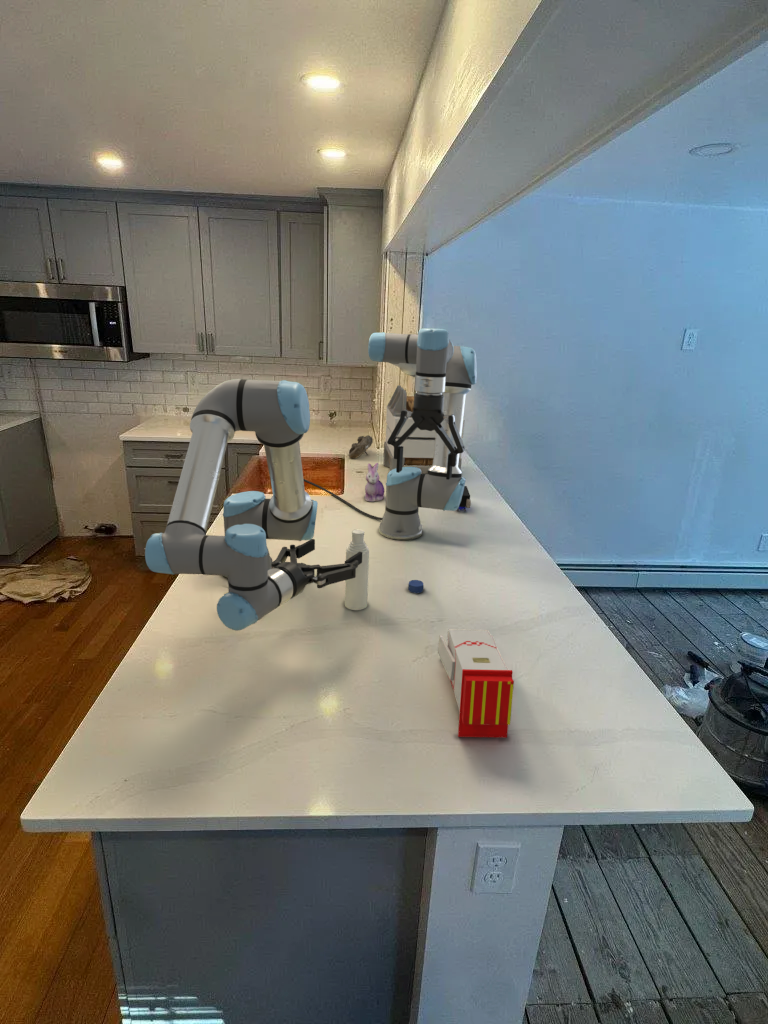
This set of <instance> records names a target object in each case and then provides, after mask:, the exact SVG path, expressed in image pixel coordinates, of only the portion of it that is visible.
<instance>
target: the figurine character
mask: <svg viewBox="0 0 768 1024" xmlns="http://www.w3.org/2000/svg"><path fill="white" fill-rule="evenodd" d="M471 501H472V500H471V494H470V491H469V488H468V486H467V485H465V487H464V491H463V495H462V499H461V502H460V505H459V507H458V509H457V510H456V511H457V512H460V510H463V511H464V513H466V512H467V509H470V508H471V505H472V504H471ZM466 508H467V509H466Z"/></svg>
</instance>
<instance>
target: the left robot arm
mask: <svg viewBox="0 0 768 1024" xmlns="http://www.w3.org/2000/svg"><path fill="white" fill-rule="evenodd" d="M310 412H311V411H310V402H309V397H308V393H307V391H306V389H305V386H304V385H303V384H301V383H300V382H298V381H288V380H286V379H282V380H267V379H243V378H233V379H228V380H225V381H223V382H221V383H219V384H217V385H215V386H214V387H213V388H211V389H210V390H209V391H208V392H207V393H206V394H205V395H204V396H203V397H202V398H201V400H200V401H199V402H198V404H197V405H196V406H195V408H194V410H193V412H192V415H191V419H190V422H189V430H190V432H191V437H190V440H189V444H188V447H187V451H186V455H185V457H184V461H183V466H182V468H181V472H180V477H179V479H178V483H177V487H176V490H175V494H174V497H173V502H172V505H171V509H170V512H169V515H168V519H167V523H166V527H165V530H164V532H158V533H153V534H151V535H150V537H149V538H148V539H147V541H146V544H145V549H144V558H145V563H146V567H148V569H149V570H150V571H151V572H154V573H157V574H158V573H160V574H167V575H202V576H203V575H204V576H206V575H207V576H223V577H224V578H226V579H227V589H228V592H226V593H224V594H223V595H222V596H221V597H220V598H219V599H218V601H217V604H216V612H217V613H216V614H217V616H218V618H219V621H220V622H221V623H222V624H223V625H224V626H225V627H226V628H227V629H230V630H232V631H237V632H238V631H242V630H245V629H246V628H248V627H250V626H251V625H254V624H256V623H257V622H258V621H260V620H261V619H263V618H265V616H267V615H269V613H272V612H273V611H275V610H276V609H278V608H279V607H280V606H282V605H284V604H285V603H287V602H288V601H289V600H291V599H293V598H295V597H297V596H298V595H299V594H301V593H302V592H303V591H304V589H305V588H306V587H307V585H310V584H313V583H314V584H316V587H317V589H322V588H324V587H327V586H329V585H333V584H337V583H340V582H345V580H348V579H352V578H355V577H356V568H357V567H358V565H359V564H361V563H362V552H358V553H357V554H355V555H354V556H352V557H350V558H349V559H347V560H346V559H345V560H344V563H336V564H327V565H320V564H306V563H305V562H298V560H299V559H301V558H303V557H304V556H306V555H308V554H310V553H311V552H313V551H315V550H316V539H314V536H315V530H316V529H315V528H316V521H317V513H318V505H319V504H318V501H317V500H314V499H312V498H311V496H310V494H309V493H308V492H307V490H305V489H306V488H305V482H304V480H303V479H304V472H303V471H304V470H303V463H302V462H303V461H302V454H301V453H302V452H301V444H300V441H301V440H302V439H303V437H304V434H306V433H308V432H309V429H310V425H311V413H310ZM239 431H242V432H254V433H255V434H254V435H255V437H256V439H257V441H258V442H259V443H260V444H261V445H262V446H263V447H264V453H265V458H266V464H267V471H268V474H269V475H268V476H269V480H270V481H269V482H270V486H271V491H272V496H271V497H270V498H266V494H265V493H264V492H262V491H259V490H250V491H242V492H237V493H235V494H232V495H230V496H228V497H227V498H226V499H225V500H224V502H223V512H222V517H223V531H224V535H211V534H210V535H209V534H207V531H208V527H209V523H210V518H211V516H212V515H211V514H212V510H213V506H214V503H215V502H214V501H215V497H216V494H217V493H216V492H217V488H218V486H219V485H218V484H219V480H220V476H221V472H222V467H223V465H224V460H225V455H226V451H227V446H228V443H229V442H231V441H233V440H234V438H235V433H236V432H239ZM267 540H279V541H280V540H281V541H296V542H297V541H298V542H301V541H306V542H304V543H302V544H299V545H297V546H296V544H290V545H289V548H288V547H287V546H282V547H281V549H280V551H279V553H278V555H277V556H276V558H275V560H273V557H271V555H270V554H271V553H270V551H269V548H268V545H267ZM288 557H289V561H287V559H288ZM315 570H316V575H315Z"/></svg>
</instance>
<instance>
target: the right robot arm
mask: <svg viewBox="0 0 768 1024" xmlns="http://www.w3.org/2000/svg"><path fill="white" fill-rule="evenodd" d="M367 345H368V347H367V351H368V353H367V354H368V358H369V359H370V360H371V361H372V362H378V363H387V364H391V365H394V366H395V367H398V368H399V370H400V371H401V372H402V373H404V374H405V375H407V376H410V377H412V378H415V379H414V391H415V393H414V394H413V396H414V407H413V412H411V411H408V410H407V409H405V410H403V411H401V415H400V420H399V421H398V423H397V425H396V427H395V429H394V430H393V432H392V434H391V436H390V438H389V439H388V441H387V443H388V444H391V445H392V446H394V459H397V468H396V469H393V470H391V471H390V470H389V472H388V473H387V475H386V482H385V504H384V505H385V507H384V508H385V509H384V513H383V515H382V517H380V516H376V515H372V514H370V513H368V512H365V511H363V510H361V509H359V508H358V507H356V506H355V505H353V504H352V503H350V502H349V501H347V500H345V499H343V498H342V497H341V496H339V495H337V494H335V493H334V492H332V491H330V490H328V489H327V488H325V487H323V486H321V485H319V484H316V483H314V482H313V481H310V480H307V479H305V478H303V480H304V483H307V484H309V485H311V486H313V487H316V488H318V489H320V490H322V491H324V492H325V493H327V494H329V495H331V496H332V497H334V498H336V499H337V500H339V501H341V502H342V503H344V504H345V505H347V506H348V507H350V508H352V509H353V510H355V511H356V512H358V513H359V514H362V515H364V516H365V517H368V518H370V519H373V520H377V521H381V522H379V525H378V533H379V534H380V535H381V536H382V537H385V538H387V539H389V540H395V541H410V540H415V539H418V538H420V537H421V536H422V535H423V524H421V518H420V515H419V508H422V509H430V510H431V509H432V510H440V511H441V510H442V511H443V512H445V511H447V512H455V511H457V509H458V507H459V505H460V502H461V499H462V495H463V491H464V487H465V486H466V478H465V477H463V476H462V475H463V472H462V469H461V470H460V469H459V468H458V463H459V453H461V454H463V453H464V451H466V447H465V444H464V441H463V438H461V434H462V425H463V419H464V414H465V406H466V397H467V394H468V393H469V392H470V391H471V390H472V385H473V386H474V385H476V384H477V381H478V380H477V378H478V377H477V375H478V374H477V373H478V369H477V368H478V367H477V366H478V365H477V354H476V351H475V349H474V348H473V347H470V346H462V345H454V343H453V341H452V340H451V339H450V335H449V331H448V330H447V329H445V328H433V327H432V328H429V327H428V328H427V327H426V328H425V327H423V328H420V329H419V330H418V333H417V334H416V333H414V334H413V333H395V332H394V333H393V332H384V331H382V332H373V333H371V335H370V336H369V340H368V344H367ZM410 416H411V417H412V419H413V421H414V423H413V425H412V426H411V427H410V428H409V429H408V430H407V431H406V432H405V433H404V434H403V435H402V436H401V437H400V438H399V439H398V440H397V441H396V438H397V436H398V434H399V432H400V431H401V429H402V427H403V425H404V424H405V422H406V420H407V419H409V417H410ZM417 428H419V429H420V430H428V431H433V430H435V431H436V436H435V446H434V457H433V464H432V465H430V466H428V468H427V473H422V469H421V468H420V467H417V466H404V467H402V464H403V446H400V445H401V444H402V443H403V442H404V441H405V440H406V439H407V438H408V437H409V436H410V435H411V434H412V433H413V432H414V431H415V430H416V429H417ZM462 441H463V442H462Z"/></svg>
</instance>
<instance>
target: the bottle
mask: <svg viewBox="0 0 768 1024" xmlns="http://www.w3.org/2000/svg"><path fill="white" fill-rule="evenodd" d="M358 552H362V563H361V564H359V565H358V567H357V568H356V577H355V578H352V579H348V580H345V581H344V584H345V585H344V606H345V608H347V609H348V610H352V611H362V610H364V609H366V608H367V607H368V595H369V594H368V591H369V563H370V549H369V547H368V545H367V543H366V541H365V530H363V529H360V528H359V529H358V528H357V529H353V530H352V531H351V540H350V542H349V543H348V545H347V547H346V549H345V561H346V560H347V559H349V558H350V557H352V556H354V555H355V554H357V553H358Z"/></svg>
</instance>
